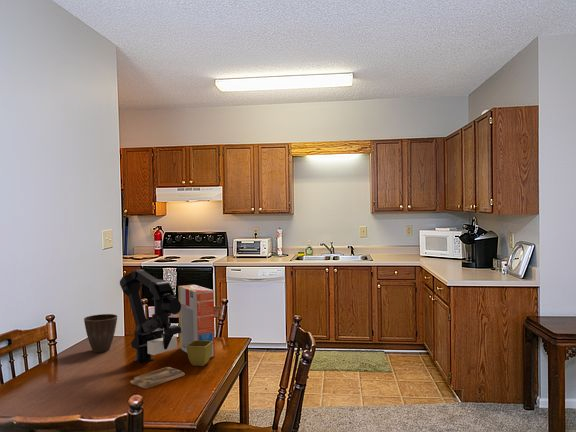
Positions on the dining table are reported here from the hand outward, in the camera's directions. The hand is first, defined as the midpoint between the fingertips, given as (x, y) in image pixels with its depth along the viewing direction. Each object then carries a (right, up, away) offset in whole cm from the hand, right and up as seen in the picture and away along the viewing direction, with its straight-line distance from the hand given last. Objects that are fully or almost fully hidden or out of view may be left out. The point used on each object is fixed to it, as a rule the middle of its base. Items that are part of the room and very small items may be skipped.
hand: (162, 348), depth 198 cm
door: (0, -1, 0) cm, 1 cm away
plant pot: (-37, -9, +28) cm, 47 cm away
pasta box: (+10, -8, +21) cm, 25 cm away
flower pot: (+15, -8, +3) cm, 18 cm away
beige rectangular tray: (+2, -8, -14) cm, 16 cm away
